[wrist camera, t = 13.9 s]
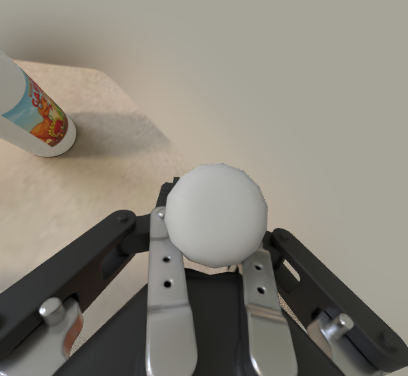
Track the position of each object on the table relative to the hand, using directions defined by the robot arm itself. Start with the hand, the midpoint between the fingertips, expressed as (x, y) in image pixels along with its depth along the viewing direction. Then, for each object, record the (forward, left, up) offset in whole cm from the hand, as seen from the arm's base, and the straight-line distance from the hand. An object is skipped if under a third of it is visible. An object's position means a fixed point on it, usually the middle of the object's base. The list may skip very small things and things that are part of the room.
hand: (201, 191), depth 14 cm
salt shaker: (+1, -2, -6) cm, 7 cm away
